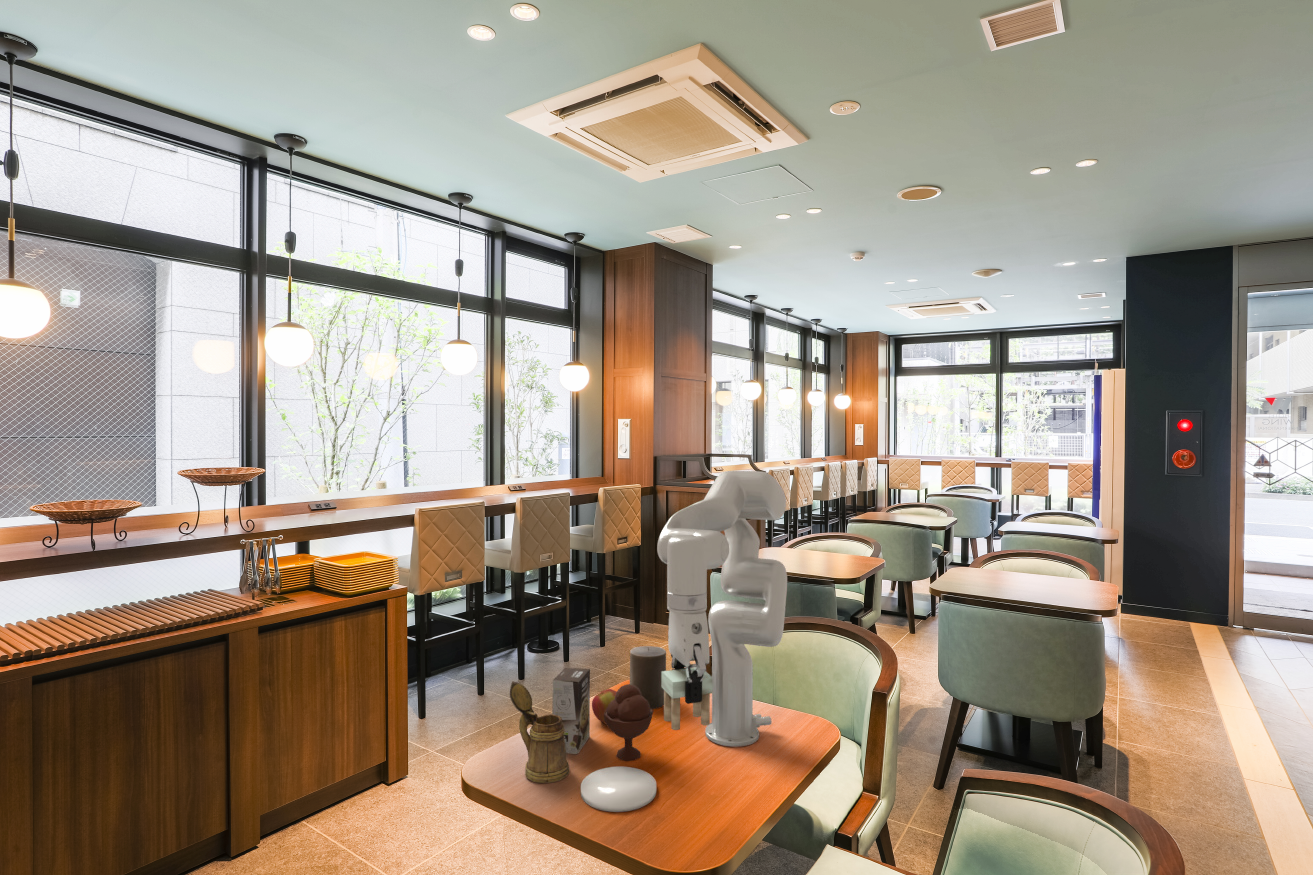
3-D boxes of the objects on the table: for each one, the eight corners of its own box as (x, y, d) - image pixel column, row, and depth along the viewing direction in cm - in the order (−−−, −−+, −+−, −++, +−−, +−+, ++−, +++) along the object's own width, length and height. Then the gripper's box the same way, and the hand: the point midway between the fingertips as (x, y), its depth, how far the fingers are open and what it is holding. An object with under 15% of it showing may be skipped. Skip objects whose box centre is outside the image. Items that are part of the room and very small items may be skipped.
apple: (609, 713, 171) (609, 681, 171) (630, 722, 166) (631, 690, 166) (586, 721, 166) (586, 689, 166) (607, 732, 160) (608, 698, 160)
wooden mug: (522, 755, 148) (522, 674, 148) (576, 767, 143) (577, 682, 143) (498, 774, 140) (499, 687, 140) (555, 787, 135) (556, 697, 135)
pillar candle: (653, 712, 172) (654, 653, 172) (621, 704, 177) (622, 647, 177) (672, 700, 180) (673, 644, 180) (641, 693, 185) (642, 638, 185)
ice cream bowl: (593, 755, 148) (593, 687, 148) (629, 739, 156) (629, 674, 156) (627, 772, 141) (627, 700, 141) (663, 754, 149) (663, 686, 149)
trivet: (643, 767, 143) (643, 761, 143) (666, 804, 129) (666, 797, 129) (573, 778, 138) (573, 772, 138) (589, 817, 124) (589, 811, 124)
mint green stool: (699, 712, 132) (699, 666, 132) (712, 724, 126) (712, 677, 126) (661, 718, 129) (661, 671, 129) (672, 731, 123) (672, 682, 123)
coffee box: (578, 754, 149) (579, 681, 149) (551, 751, 150) (551, 679, 150) (590, 736, 158) (591, 668, 158) (564, 734, 159) (565, 666, 159)
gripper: (724, 610, 121) (724, 710, 121) (687, 589, 137) (687, 677, 137) (685, 614, 118) (685, 716, 118) (653, 592, 134) (652, 682, 135)
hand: (686, 694), depth 128 cm, fingers closed on mint green stool, 6 cm apart
